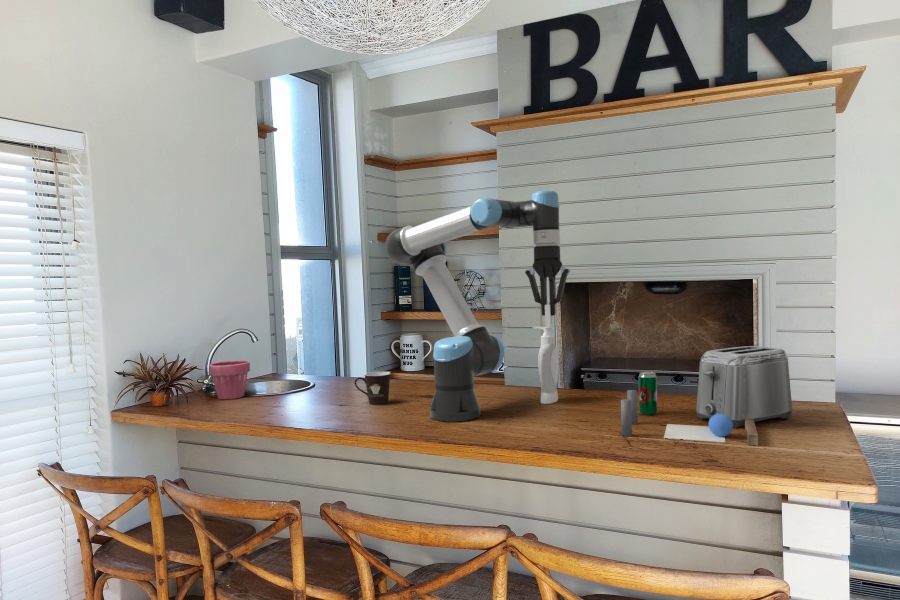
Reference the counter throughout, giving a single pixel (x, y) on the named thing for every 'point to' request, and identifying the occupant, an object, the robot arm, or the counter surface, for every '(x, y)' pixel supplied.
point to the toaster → (744, 384)
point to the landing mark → (691, 433)
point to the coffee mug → (376, 387)
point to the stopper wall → (751, 432)
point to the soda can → (647, 393)
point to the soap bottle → (548, 367)
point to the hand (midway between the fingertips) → (549, 326)
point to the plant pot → (230, 378)
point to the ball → (720, 425)
